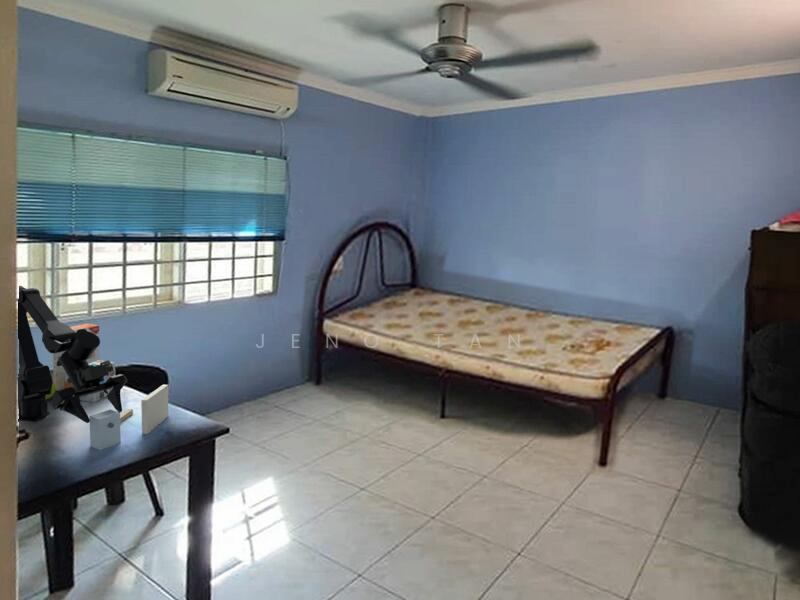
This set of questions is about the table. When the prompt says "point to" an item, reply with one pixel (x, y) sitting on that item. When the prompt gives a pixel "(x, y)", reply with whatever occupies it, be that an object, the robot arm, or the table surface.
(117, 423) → the pale grey square box
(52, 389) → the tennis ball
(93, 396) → the light bulb box
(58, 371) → the cracker box
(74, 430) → the table surface
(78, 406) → the robot arm
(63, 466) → the table surface
